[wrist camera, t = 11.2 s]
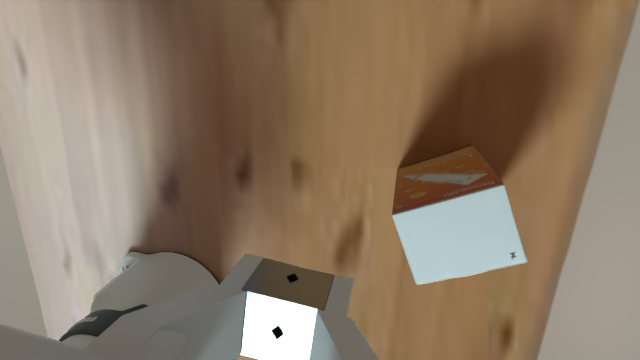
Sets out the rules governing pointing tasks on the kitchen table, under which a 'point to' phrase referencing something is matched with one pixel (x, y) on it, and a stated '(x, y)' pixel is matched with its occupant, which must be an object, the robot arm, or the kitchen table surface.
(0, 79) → the kitchen table surface
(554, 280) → the kitchen table surface
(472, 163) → the small box
